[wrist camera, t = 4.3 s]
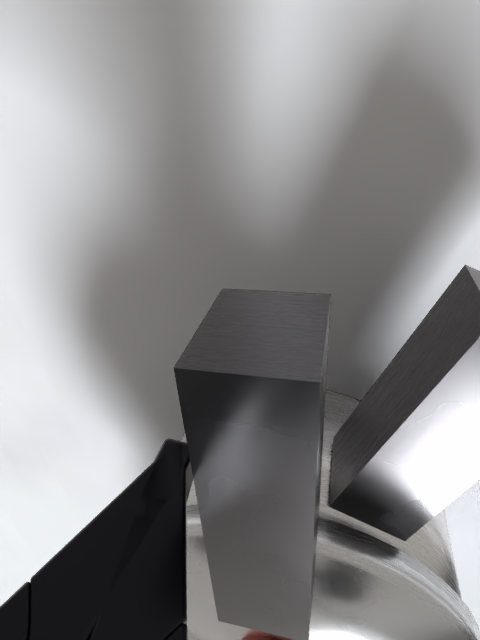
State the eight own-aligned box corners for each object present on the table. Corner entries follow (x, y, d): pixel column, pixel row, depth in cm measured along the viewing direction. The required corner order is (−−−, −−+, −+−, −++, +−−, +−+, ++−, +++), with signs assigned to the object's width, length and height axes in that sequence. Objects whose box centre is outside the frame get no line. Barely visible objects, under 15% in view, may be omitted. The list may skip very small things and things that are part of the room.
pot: (327, 612, 23) (320, 734, 19) (143, 528, 23) (95, 630, 19) (668, 331, 11) (847, 481, 7) (300, 166, 11) (268, 222, 7)
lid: (441, 737, 15) (455, 843, 13) (149, 656, 18) (121, 734, 16) (656, 310, 6) (804, 430, 4) (8, 277, 9) (-98, 340, 7)
